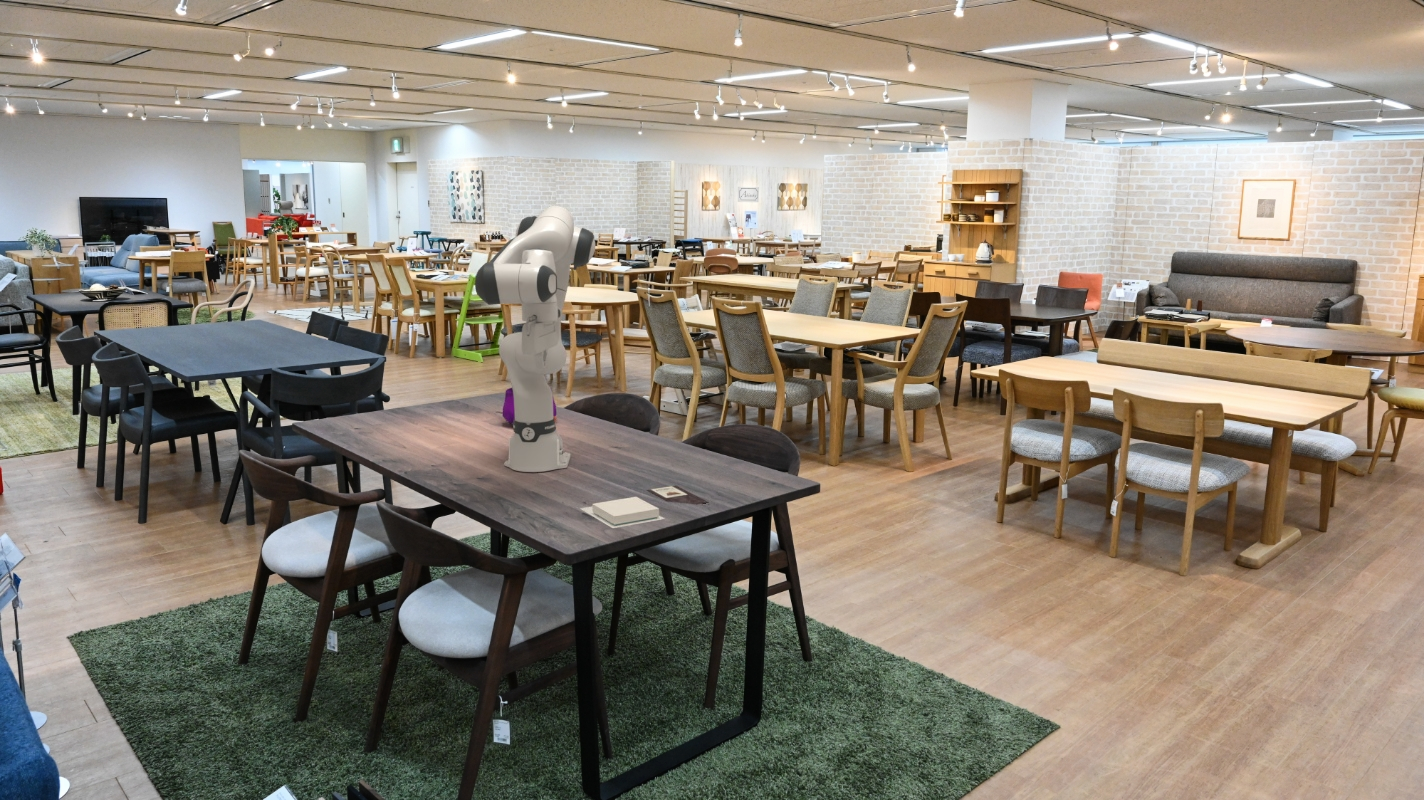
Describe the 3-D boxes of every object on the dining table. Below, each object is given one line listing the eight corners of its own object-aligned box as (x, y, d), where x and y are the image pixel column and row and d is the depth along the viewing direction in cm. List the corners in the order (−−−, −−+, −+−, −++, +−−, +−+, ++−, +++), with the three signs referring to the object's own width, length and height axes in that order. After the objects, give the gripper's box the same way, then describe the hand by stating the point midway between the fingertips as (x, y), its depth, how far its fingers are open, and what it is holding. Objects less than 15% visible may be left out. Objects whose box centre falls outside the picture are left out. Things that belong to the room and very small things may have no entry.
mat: (579, 510, 244) (579, 508, 244) (629, 502, 251) (629, 500, 251) (612, 530, 229) (612, 528, 229) (665, 520, 236) (665, 518, 236)
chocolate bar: (677, 507, 245) (646, 490, 261) (677, 511, 245) (646, 493, 261) (708, 502, 250) (676, 485, 265) (708, 506, 250) (676, 488, 265)
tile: (592, 503, 240) (614, 516, 230) (635, 496, 246) (659, 508, 236) (592, 513, 240) (614, 526, 230) (636, 505, 246) (659, 518, 236)
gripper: (539, 317, 236) (541, 374, 239) (562, 310, 256) (564, 362, 259) (514, 317, 237) (516, 373, 240) (539, 309, 257) (541, 361, 260)
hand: (541, 367), depth 249 cm, fingers closed
